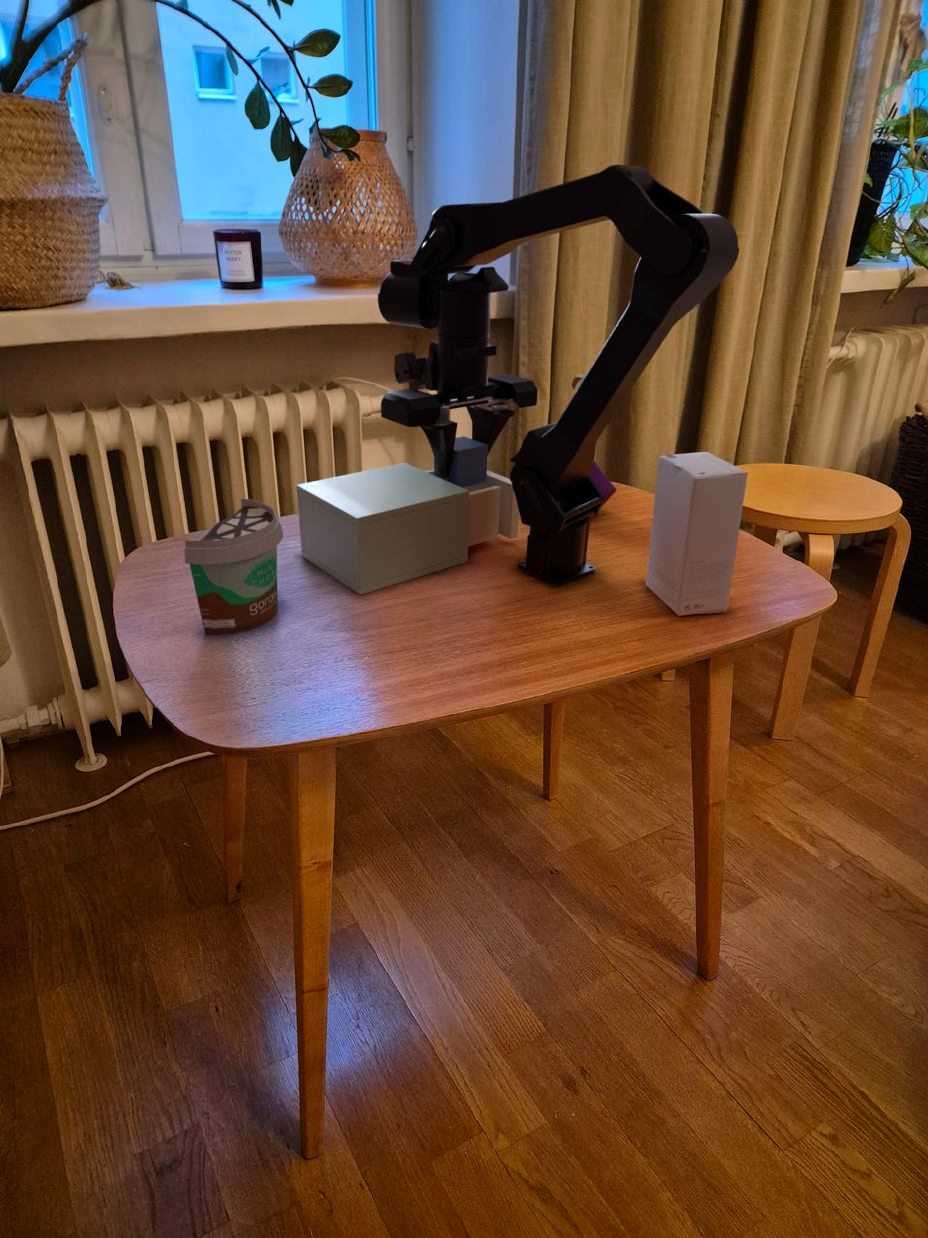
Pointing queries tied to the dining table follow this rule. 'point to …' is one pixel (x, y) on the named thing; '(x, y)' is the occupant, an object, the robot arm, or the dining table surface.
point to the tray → (491, 509)
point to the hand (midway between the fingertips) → (460, 472)
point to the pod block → (466, 463)
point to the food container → (237, 570)
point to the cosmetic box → (695, 531)
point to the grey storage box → (383, 525)
